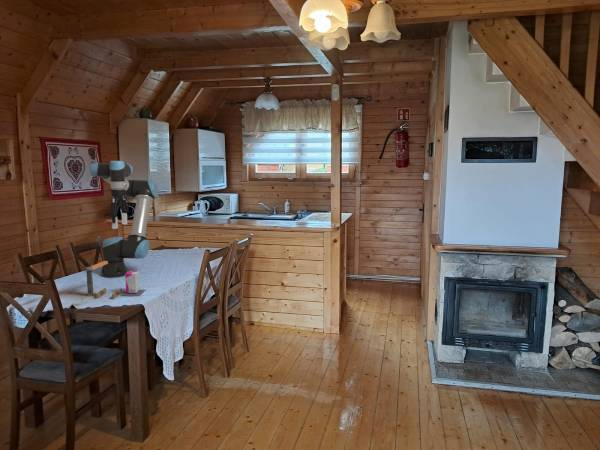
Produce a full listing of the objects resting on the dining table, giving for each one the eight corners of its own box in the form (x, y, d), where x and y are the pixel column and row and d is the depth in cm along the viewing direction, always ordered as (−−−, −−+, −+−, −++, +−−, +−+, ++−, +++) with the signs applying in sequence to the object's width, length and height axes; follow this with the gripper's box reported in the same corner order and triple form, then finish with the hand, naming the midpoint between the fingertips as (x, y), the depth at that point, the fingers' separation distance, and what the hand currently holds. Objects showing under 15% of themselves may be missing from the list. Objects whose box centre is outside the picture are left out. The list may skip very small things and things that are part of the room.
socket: (93, 292, 246) (91, 268, 244) (121, 293, 246) (120, 269, 244) (84, 298, 237) (82, 273, 234) (114, 299, 236) (112, 274, 234)
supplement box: (140, 290, 249) (139, 270, 247) (136, 294, 243) (135, 273, 241) (129, 290, 249) (128, 270, 247) (125, 293, 243) (124, 273, 241)
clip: (84, 271, 238) (84, 267, 238) (103, 263, 254) (103, 260, 254) (89, 271, 237) (89, 268, 237) (108, 263, 253) (108, 260, 253)
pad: (127, 290, 251) (127, 289, 251) (145, 290, 251) (145, 289, 251) (120, 296, 241) (120, 295, 241) (138, 296, 241) (138, 295, 241)
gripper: (115, 191, 237) (117, 230, 241) (133, 187, 262) (134, 222, 265) (101, 191, 237) (103, 230, 241) (120, 186, 262) (122, 222, 265)
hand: (119, 226), depth 253 cm, fingers open, 13 cm apart
